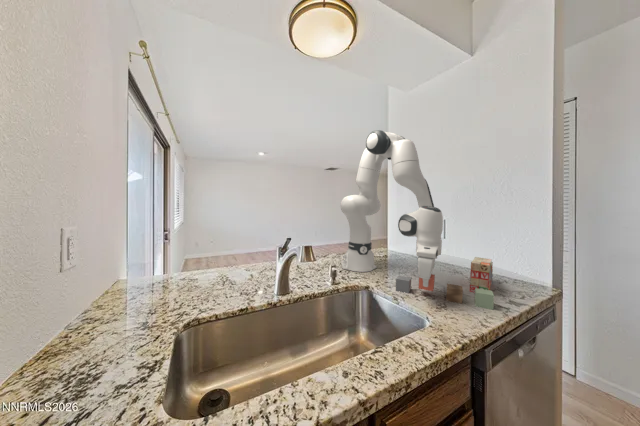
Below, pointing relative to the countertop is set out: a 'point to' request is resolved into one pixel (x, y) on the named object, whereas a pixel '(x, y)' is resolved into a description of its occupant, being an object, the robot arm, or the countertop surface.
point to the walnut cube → (454, 293)
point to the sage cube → (484, 298)
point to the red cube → (430, 285)
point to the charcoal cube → (403, 284)
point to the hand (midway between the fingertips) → (426, 283)
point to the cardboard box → (481, 274)
